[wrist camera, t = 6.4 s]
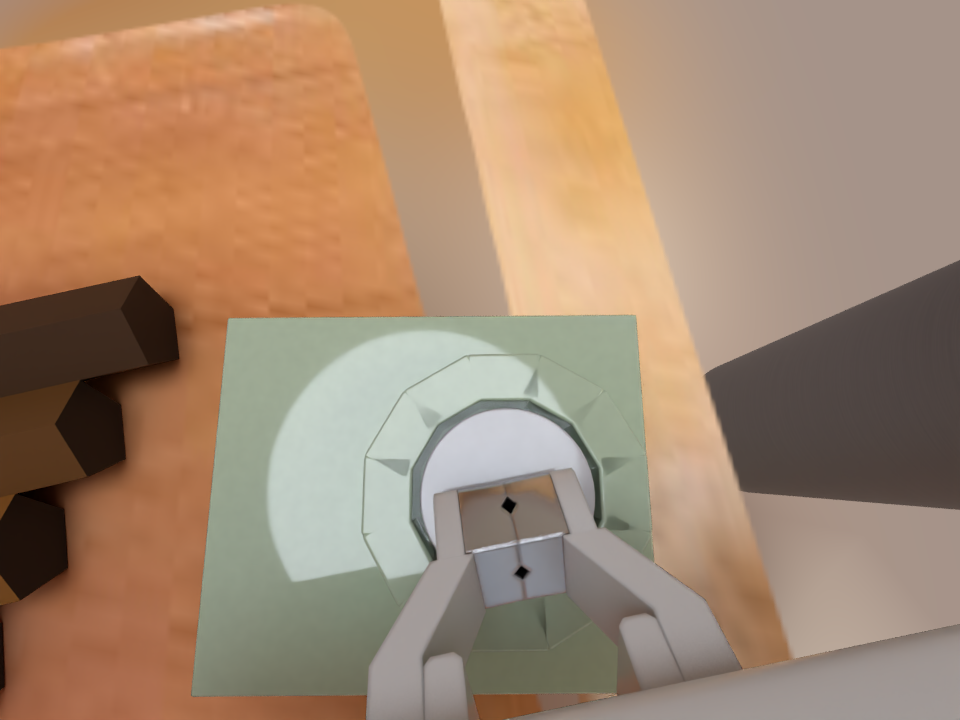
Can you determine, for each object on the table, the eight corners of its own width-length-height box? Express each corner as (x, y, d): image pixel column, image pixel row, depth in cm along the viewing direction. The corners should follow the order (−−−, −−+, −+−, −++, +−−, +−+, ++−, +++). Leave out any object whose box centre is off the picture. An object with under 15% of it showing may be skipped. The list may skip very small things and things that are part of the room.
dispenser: (591, 359, 21) (657, 293, 13) (606, 623, 19) (693, 728, 11) (299, 361, 21) (193, 297, 13) (281, 625, 19) (144, 733, 11)
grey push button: (575, 415, 14) (590, 406, 12) (582, 570, 13) (601, 588, 11) (429, 417, 14) (420, 408, 12) (427, 572, 13) (417, 590, 11)
